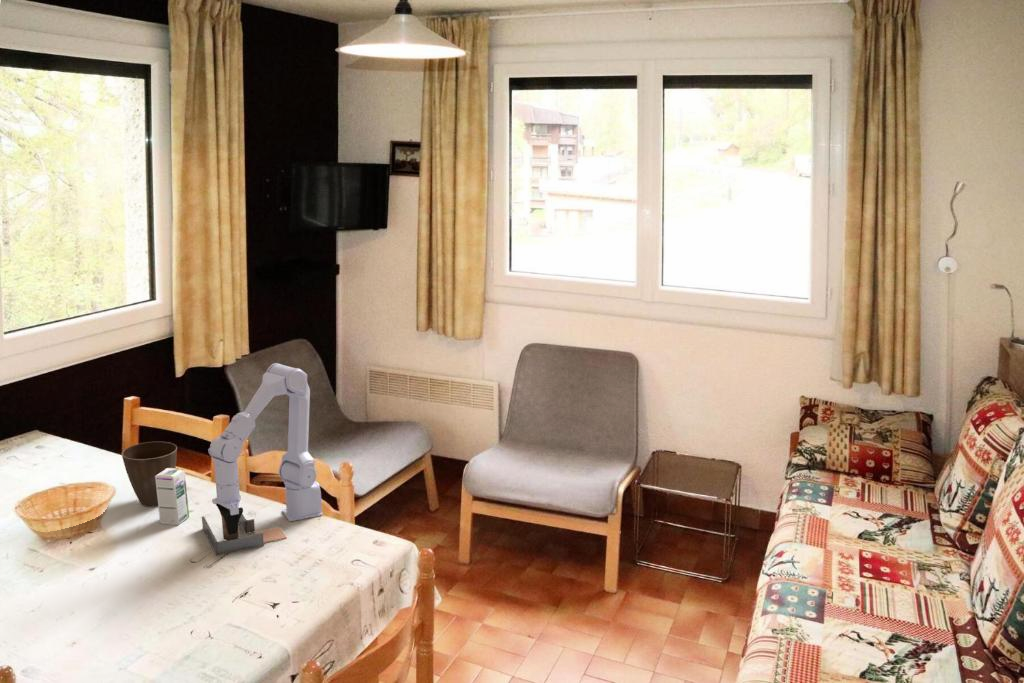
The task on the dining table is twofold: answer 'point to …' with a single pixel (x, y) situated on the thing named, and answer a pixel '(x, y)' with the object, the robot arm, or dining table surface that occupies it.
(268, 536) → the coaster
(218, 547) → the rail channel
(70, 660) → the dining table surface
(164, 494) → the syrup box
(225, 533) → the walnut peg
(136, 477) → the plant pot
